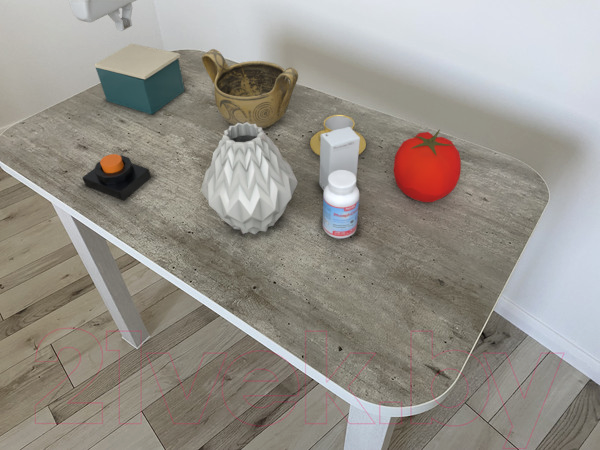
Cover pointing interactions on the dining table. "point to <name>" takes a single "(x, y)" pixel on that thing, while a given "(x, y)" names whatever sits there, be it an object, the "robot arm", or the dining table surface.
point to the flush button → (112, 163)
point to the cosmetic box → (338, 153)
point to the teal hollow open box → (143, 88)
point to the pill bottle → (340, 204)
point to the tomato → (427, 167)
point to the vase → (248, 179)
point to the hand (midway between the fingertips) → (124, 28)
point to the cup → (334, 124)
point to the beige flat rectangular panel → (137, 61)
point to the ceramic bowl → (250, 89)
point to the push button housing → (118, 179)
